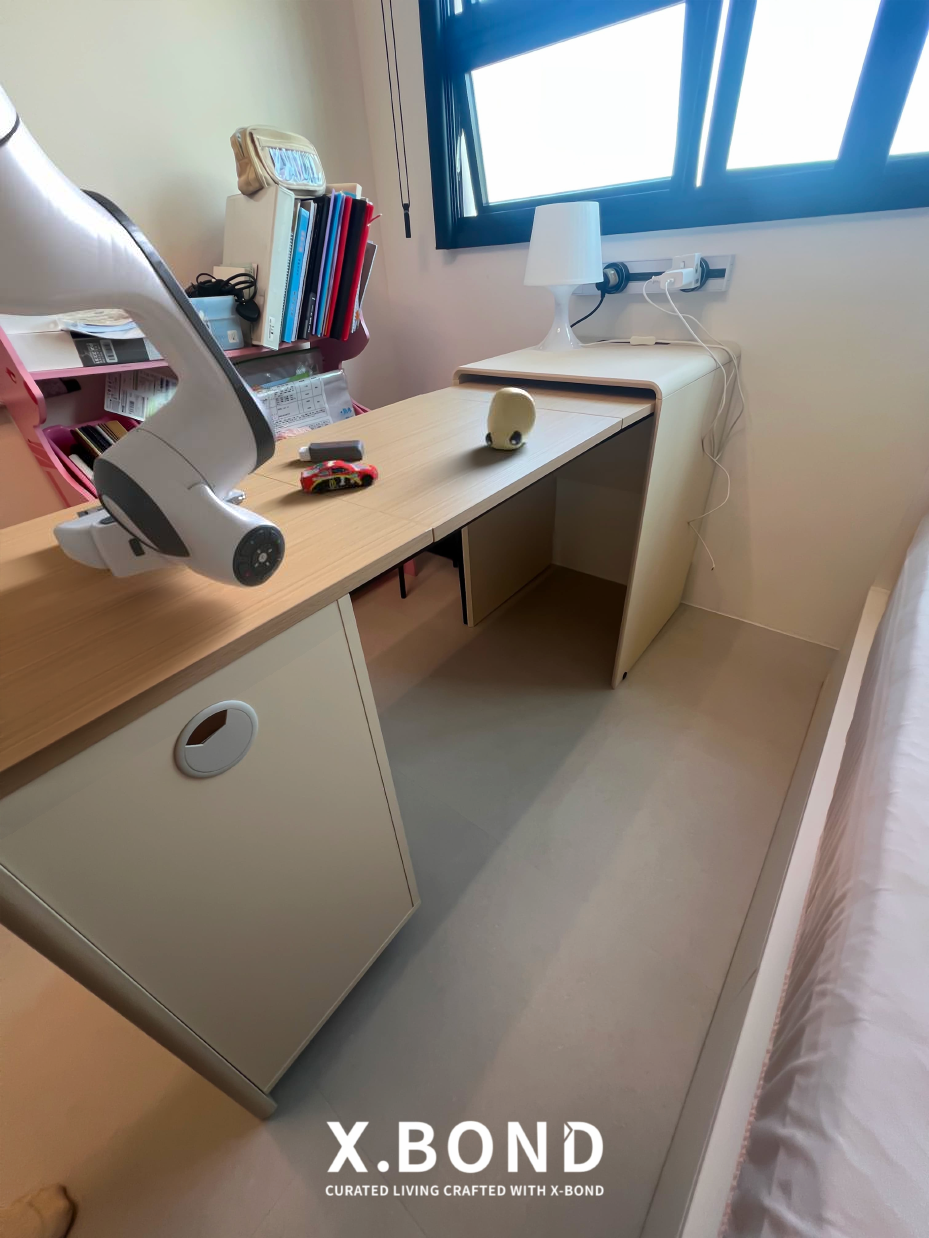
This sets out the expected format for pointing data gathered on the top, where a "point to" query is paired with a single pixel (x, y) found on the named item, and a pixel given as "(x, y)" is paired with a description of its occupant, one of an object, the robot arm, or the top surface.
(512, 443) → the yellow toy head
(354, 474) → the race car
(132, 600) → the top surface
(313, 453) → the usb drive
